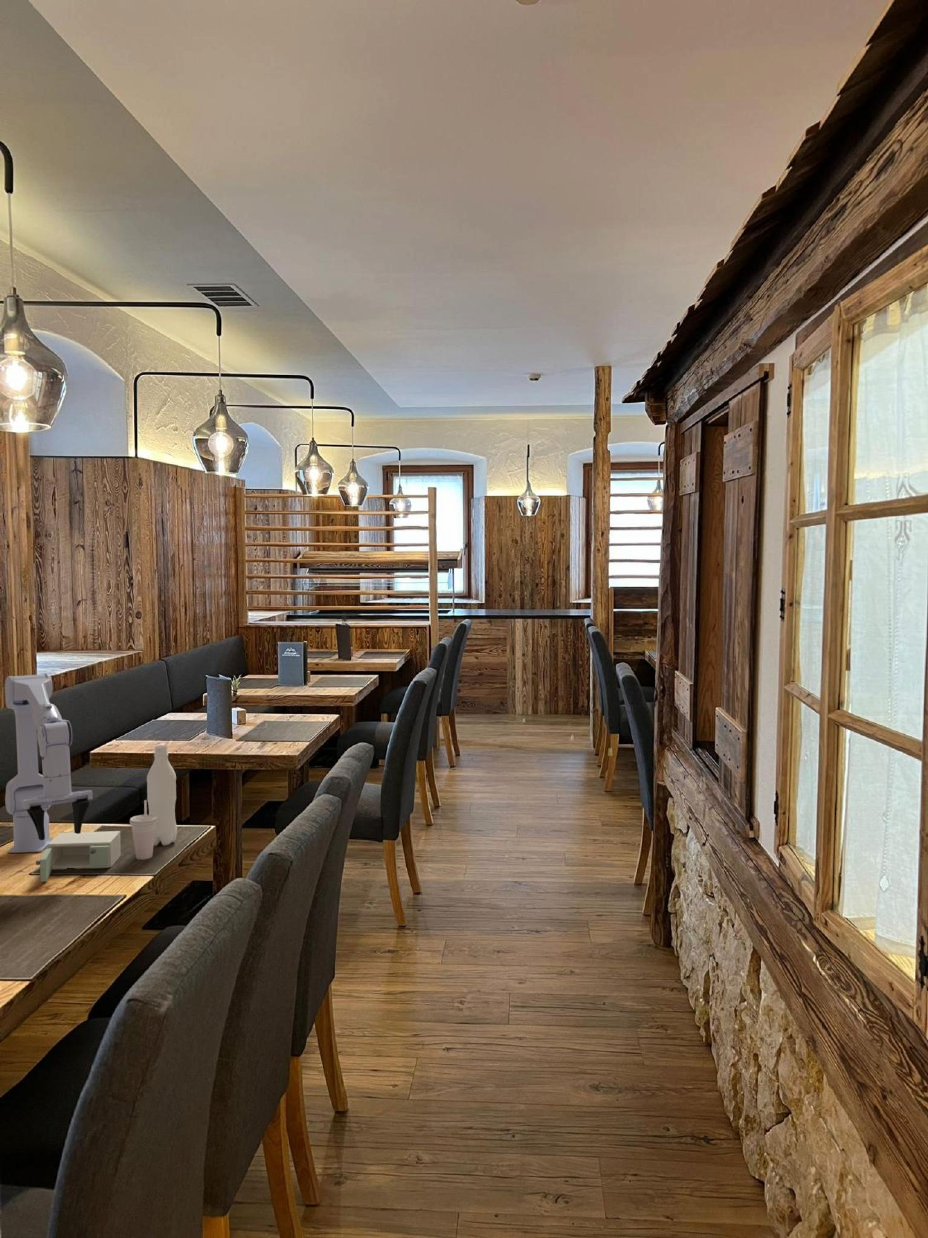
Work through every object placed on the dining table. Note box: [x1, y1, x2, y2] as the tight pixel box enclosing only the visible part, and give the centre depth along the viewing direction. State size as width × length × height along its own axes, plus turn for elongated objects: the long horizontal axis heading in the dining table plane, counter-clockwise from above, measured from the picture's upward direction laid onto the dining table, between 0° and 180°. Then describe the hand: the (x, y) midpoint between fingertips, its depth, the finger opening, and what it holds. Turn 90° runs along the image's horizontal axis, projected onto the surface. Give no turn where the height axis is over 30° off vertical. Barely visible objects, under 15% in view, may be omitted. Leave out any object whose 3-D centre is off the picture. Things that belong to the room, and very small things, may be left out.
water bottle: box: [146, 744, 178, 846], centre depth 230 cm, size 7×7×25 cm
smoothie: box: [129, 799, 158, 860], centre depth 220 cm, size 6×6×14 cm
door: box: [35, 846, 53, 883], centre depth 206 cm, size 2×9×5 cm, turn 17°
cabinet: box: [47, 830, 122, 870], centre depth 215 cm, size 11×14×6 cm
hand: (59, 836), depth 203 cm, fingers open, 7 cm apart
